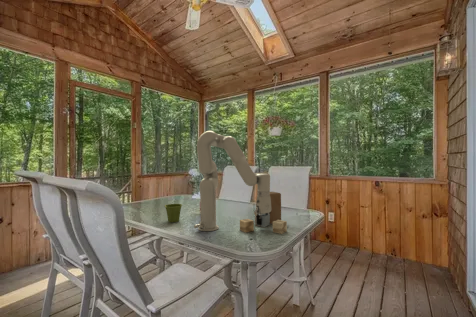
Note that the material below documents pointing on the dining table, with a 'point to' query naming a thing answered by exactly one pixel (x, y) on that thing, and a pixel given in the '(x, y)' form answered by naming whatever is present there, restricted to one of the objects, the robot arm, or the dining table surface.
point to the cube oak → (246, 225)
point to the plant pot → (173, 212)
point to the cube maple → (279, 226)
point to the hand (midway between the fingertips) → (262, 223)
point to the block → (275, 206)
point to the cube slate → (264, 220)
